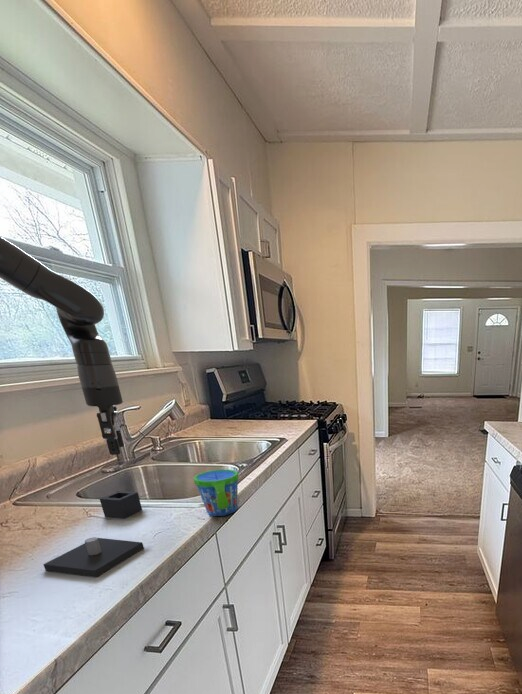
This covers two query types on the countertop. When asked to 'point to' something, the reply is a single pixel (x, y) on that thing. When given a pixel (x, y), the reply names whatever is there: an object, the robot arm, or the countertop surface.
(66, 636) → the countertop surface
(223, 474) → the snack cup
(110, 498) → the socket block
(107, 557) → the base pad
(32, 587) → the countertop surface
